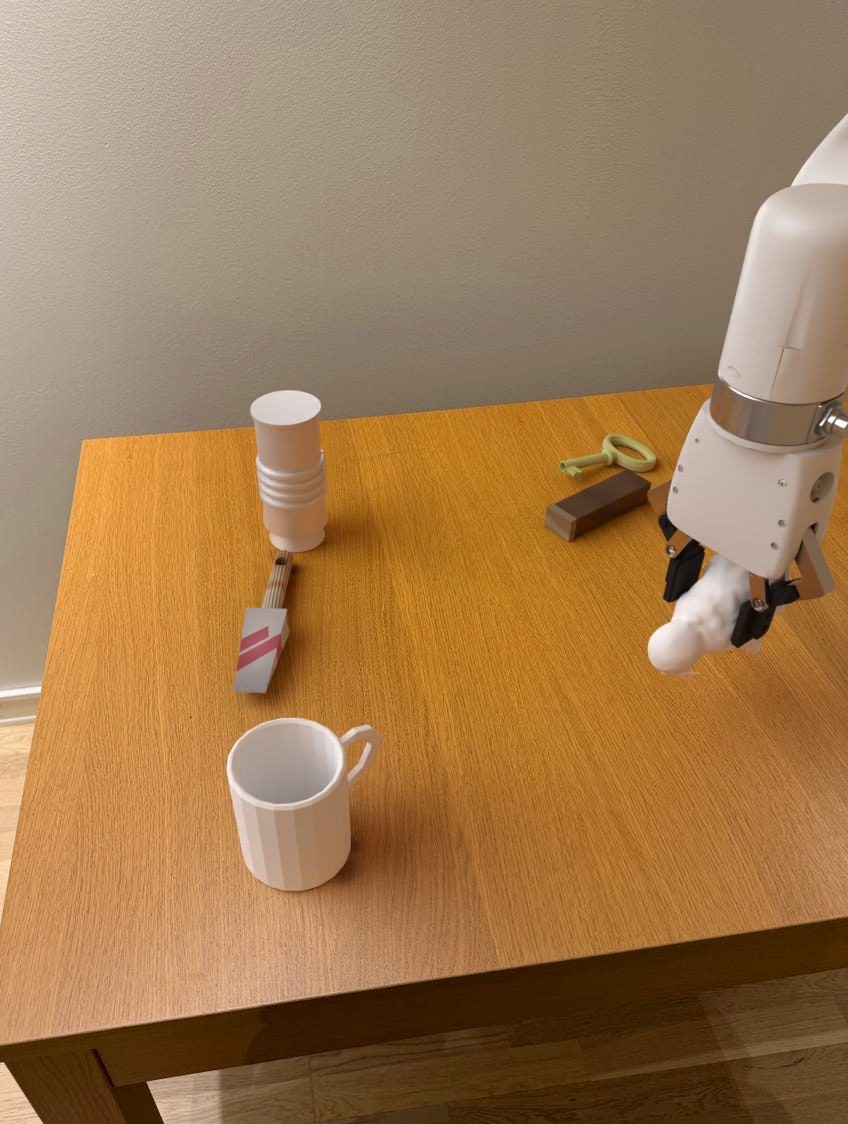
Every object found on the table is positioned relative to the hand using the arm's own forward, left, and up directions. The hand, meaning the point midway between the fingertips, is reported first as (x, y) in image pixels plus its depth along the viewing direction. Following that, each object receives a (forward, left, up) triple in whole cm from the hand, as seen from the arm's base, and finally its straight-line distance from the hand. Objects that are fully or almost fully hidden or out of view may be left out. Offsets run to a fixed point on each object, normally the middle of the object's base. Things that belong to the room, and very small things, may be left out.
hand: (712, 614), depth 70 cm
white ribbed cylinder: (+12, -41, -11) cm, 44 cm away
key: (-24, -31, -11) cm, 41 cm away
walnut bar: (-16, -25, -11) cm, 31 cm away
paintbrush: (+22, -30, -11) cm, 39 cm away
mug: (+31, -8, -11) cm, 34 cm away
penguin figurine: (0, 0, -4) cm, 4 cm away
